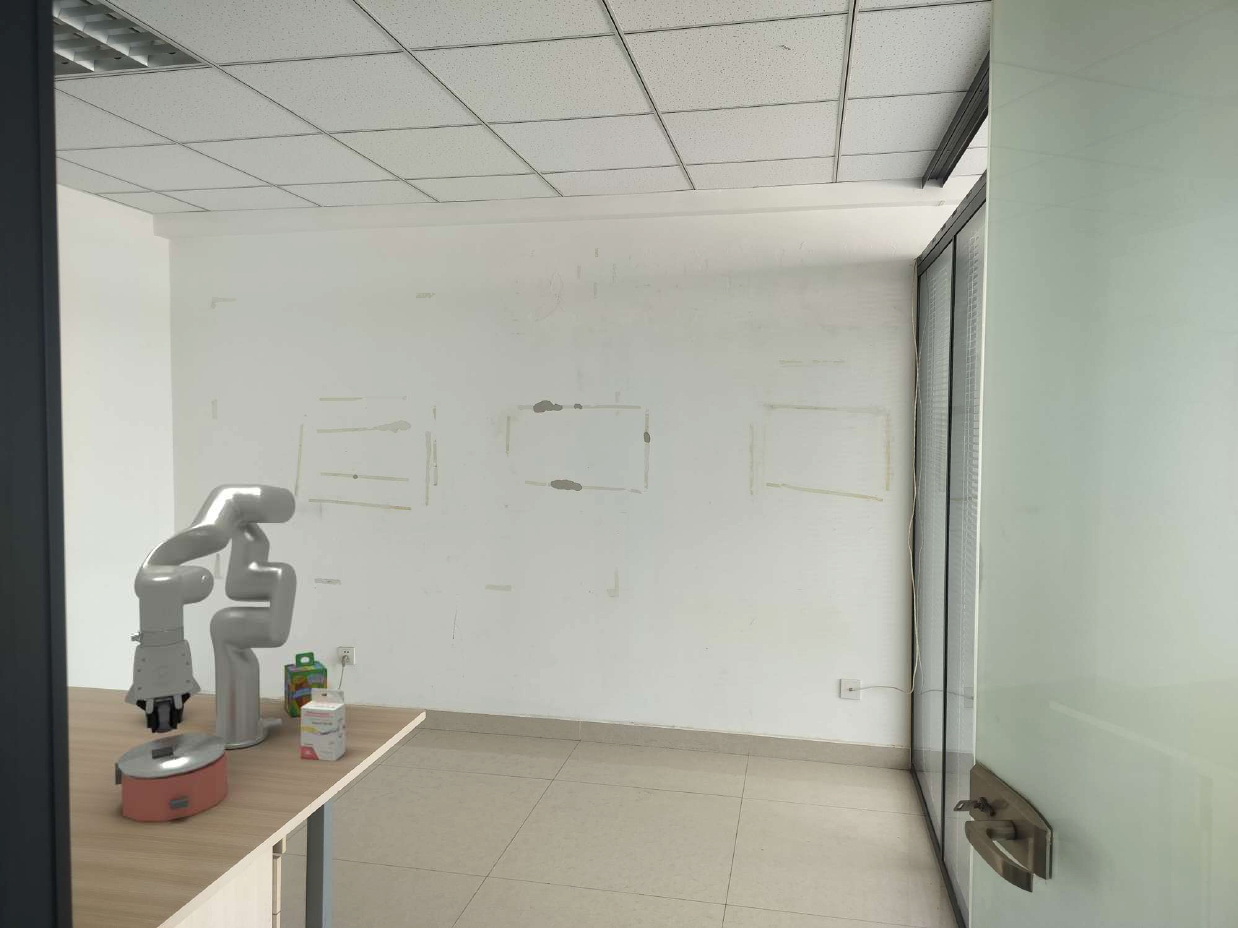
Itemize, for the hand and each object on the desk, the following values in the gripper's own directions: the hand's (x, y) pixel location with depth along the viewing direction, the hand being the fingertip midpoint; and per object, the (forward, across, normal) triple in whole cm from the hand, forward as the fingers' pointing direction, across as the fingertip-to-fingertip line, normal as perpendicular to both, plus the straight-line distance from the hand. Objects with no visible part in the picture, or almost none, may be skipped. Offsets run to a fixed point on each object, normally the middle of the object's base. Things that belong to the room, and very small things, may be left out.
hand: (164, 728), depth 163 cm
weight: (0, 0, 0) cm, 0 cm away
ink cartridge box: (+15, +32, +8) cm, 36 cm away
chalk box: (+16, +35, +42) cm, 57 cm away
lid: (+7, +1, 0) cm, 7 cm away
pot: (+15, +2, 0) cm, 15 cm away
